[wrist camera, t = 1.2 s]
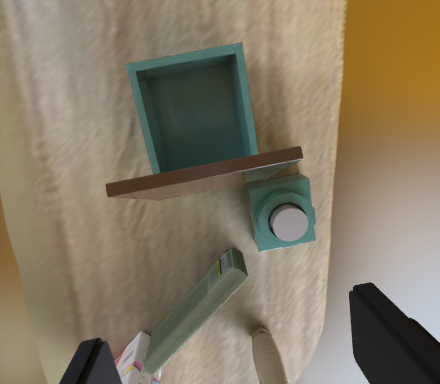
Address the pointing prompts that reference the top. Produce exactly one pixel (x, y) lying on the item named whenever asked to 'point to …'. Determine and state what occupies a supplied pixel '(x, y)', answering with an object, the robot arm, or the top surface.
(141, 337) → the ink cartridge box
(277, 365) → the handle
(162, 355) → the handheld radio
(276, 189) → the flush button base
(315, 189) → the top surface
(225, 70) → the teal bin
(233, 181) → the brown rectangular panel
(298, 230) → the flush button
